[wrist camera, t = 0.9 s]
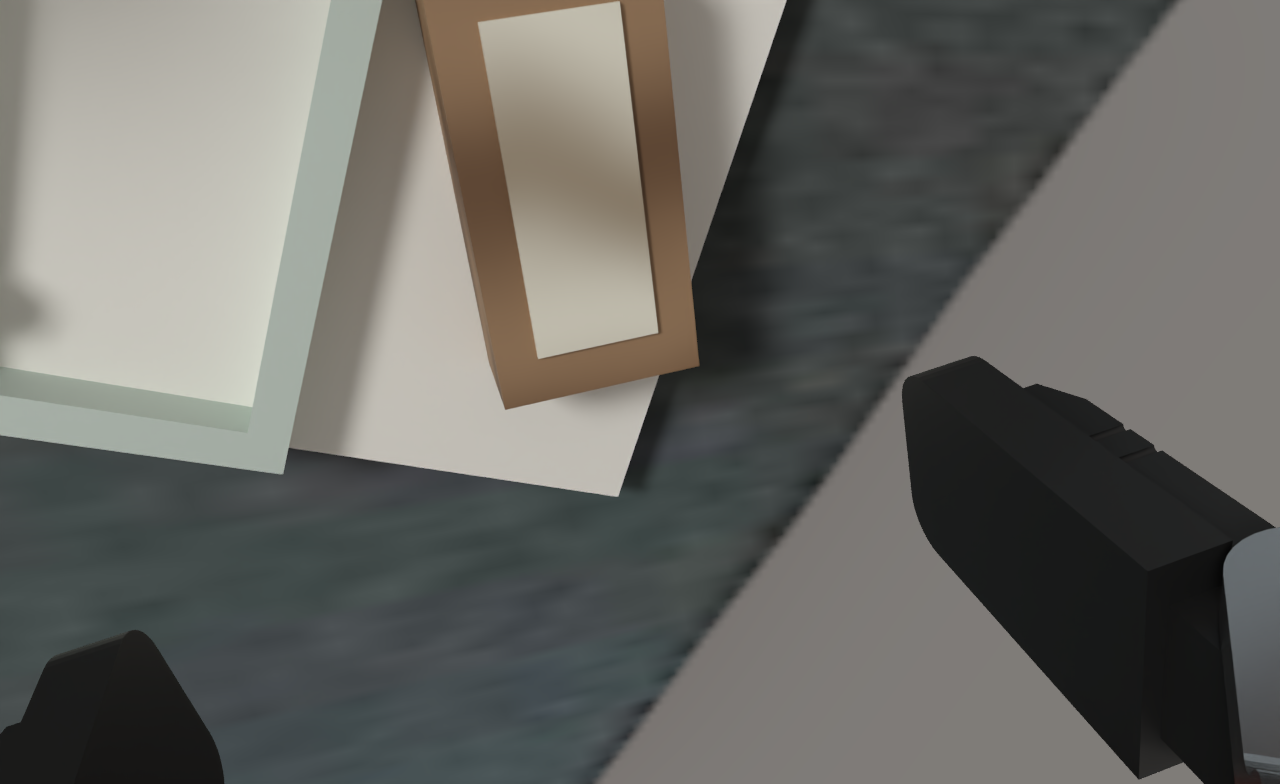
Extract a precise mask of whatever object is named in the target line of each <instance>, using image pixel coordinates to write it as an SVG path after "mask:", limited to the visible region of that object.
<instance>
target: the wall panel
mask: <svg viewBox="0 0 1280 784" xmlns="http://www.w3.org/2000/svg"><path fill="white" fill-rule="evenodd" d="M786 1H787V0H664V8H665V18H666V29H667V39H668V49H669V59H670V70H671V80H672V90H673V100H674V111H675V121H676V131H677V141H678V152H679V162H680V172H681V182H682V193H683V203H684V213H685V223H686V234H687V244H688V254H689V264H690V275H691V280H692V277H693V274H694V271H695V268H696V266H697V263H698V260H699V257H700V254H701V251H702V248H703V245H704V242H705V239H706V236H707V233H708V230H709V227H710V224H711V221H712V218H713V216H714V213H715V210H716V207H717V204H718V201H719V198H720V195H721V192H722V189H723V186H724V183H725V180H726V177H727V174H728V171H729V168H730V166H731V163H732V160H733V157H734V154H735V151H736V148H737V145H738V142H739V139H740V136H741V133H742V130H743V127H744V124H745V121H746V118H747V115H748V113H749V110H750V107H751V104H752V101H753V98H754V95H755V92H756V89H757V86H758V83H759V80H760V77H761V74H762V71H763V68H764V65H765V63H766V60H767V57H768V54H769V51H770V48H771V45H772V42H773V39H774V36H775V33H776V30H777V27H778V24H779V21H780V18H781V15H782V12H783V10H784V7H785V4H786ZM658 377H659V375H657V376H653V377H648V378H644V379H640V380H635V381H631V382H626V383H622V384H618V385H613V386H609V387H604V388H600V389H596V390H591V391H587V392H582V393H578V394H573V395H569V396H565V397H560V398H556V399H551V400H547V401H543V402H538V403H534V404H529V405H525V406H520V407H516V408H512V409H507V410H505V408H504V405H503V402H502V399H501V396H500V393H499V391H498V388H497V385H496V382H495V379H494V376H493V373H492V370H491V368H490V365H489V361H488V356H487V351H486V346H485V341H484V336H483V331H482V326H481V321H480V317H479V312H478V307H477V302H476V297H475V292H474V287H473V282H472V277H471V272H470V268H469V263H468V258H467V253H466V248H465V243H464V238H463V233H462V228H461V223H460V219H459V214H458V209H457V204H456V199H455V194H454V189H453V184H452V179H451V174H450V170H449V165H448V160H447V155H446V150H445V145H444V140H443V135H442V130H441V125H440V120H439V116H438V111H437V106H436V101H435V96H434V91H433V86H432V81H431V76H430V71H429V67H428V62H427V57H426V52H425V47H424V42H423V37H422V32H421V27H420V22H419V18H418V13H417V8H416V3H415V0H0V435H3V436H10V437H17V438H24V439H32V440H39V441H46V442H53V443H60V444H67V445H75V446H82V447H89V448H96V449H103V450H111V451H118V452H125V453H132V454H139V455H146V456H154V457H161V458H168V459H175V460H182V461H190V462H197V463H204V464H211V465H218V466H225V467H233V468H240V469H247V470H254V471H261V472H269V473H276V474H283V472H284V467H285V462H286V458H287V453H288V448H294V449H300V450H307V451H314V452H321V453H327V454H334V455H341V456H347V457H354V458H361V459H368V460H374V461H381V462H388V463H394V464H401V465H408V466H415V467H421V468H428V469H435V470H441V471H448V472H455V473H462V474H468V475H475V476H482V477H488V478H495V479H502V480H509V481H515V482H522V483H529V484H535V485H542V486H549V487H556V488H562V489H569V490H576V491H582V492H589V493H596V494H602V495H609V496H616V497H618V495H619V492H620V489H621V486H622V483H623V480H624V477H625V474H626V472H627V469H628V466H629V463H630V460H631V457H632V454H633V451H634V448H635V445H636V442H637V439H638V436H639V433H640V430H641V427H642V424H643V422H644V419H645V416H646V413H647V410H648V407H649V404H650V401H651V398H652V395H653V392H654V389H655V386H656V383H657V380H658Z"/></svg>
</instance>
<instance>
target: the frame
mask: <svg viewBox="0 0 1280 784" xmlns="http://www.w3.org/2000/svg"><path fill="white" fill-rule="evenodd" d="M415 3H416V8H417V13H418V18H419V22H420V27H421V32H422V37H423V42H424V47H425V52H426V57H427V62H428V67H429V71H430V76H431V81H432V86H433V91H434V96H435V101H436V106H437V111H438V116H439V120H440V125H441V130H442V135H443V140H444V145H445V150H446V155H447V160H448V165H449V170H450V174H451V179H452V184H453V189H454V194H455V199H456V204H457V209H458V214H459V219H460V223H461V228H462V233H463V238H464V243H465V248H466V253H467V258H468V263H469V268H470V272H471V277H472V282H473V287H474V292H475V297H476V302H477V307H478V312H479V317H480V321H481V326H482V331H483V336H484V341H485V346H486V351H487V356H488V361H489V365H490V368H491V370H492V373H493V376H494V379H495V382H496V385H497V388H498V391H499V393H500V396H501V399H502V402H503V405H504V408H505V410H507V409H512V408H516V407H520V406H525V405H529V404H534V403H538V402H543V401H547V400H551V399H556V398H560V397H565V396H569V395H573V394H578V393H582V392H587V391H591V390H596V389H600V388H604V387H609V386H613V385H618V384H622V383H626V382H631V381H635V380H640V379H644V378H648V377H653V376H657V375H662V374H666V373H671V372H675V371H679V370H684V369H688V368H693V367H697V366H699V357H698V347H697V336H696V326H695V316H694V305H693V295H692V285H691V275H690V264H689V254H688V244H687V234H686V223H685V213H684V203H683V193H682V182H681V172H680V162H679V152H678V141H677V131H676V121H675V111H674V100H673V90H672V80H671V70H670V59H669V49H668V39H667V29H666V18H665V8H664V0H415Z"/></svg>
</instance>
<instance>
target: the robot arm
mask: <svg viewBox="0 0 1280 784" xmlns="http://www.w3.org/2000/svg"><path fill="white" fill-rule="evenodd" d="M902 403H903V412H904V421H905V432H906V441H907V451H908V461H909V471H910V480H911V490H912V498H913V503H914V507H915V511H916V514H917V517H918V520H919V522H920V525H921V527H922V529H923V531H924V533H925V535H926V537H927V539H928V541H929V542H930V544H931V545H932V547H933V548H934V549H935V551H936V552H937V553H938V554H939V556H940V557H941V558H942V559H943V560H944V561H945V562H946V563H947V564H948V566H949V567H950V568H951V569H952V570H953V571H954V572H955V574H956V575H957V576H958V577H959V578H960V579H961V580H962V581H963V583H964V584H965V585H966V586H967V587H968V588H969V589H970V590H971V592H972V593H973V594H974V595H975V596H976V597H977V598H978V599H979V600H980V602H982V604H983V605H984V606H985V607H986V608H987V610H988V611H989V612H990V613H991V614H992V615H993V616H994V617H995V619H996V620H997V621H998V622H999V623H1000V624H1001V625H1002V626H1003V628H1004V629H1005V630H1006V631H1007V632H1008V633H1009V634H1010V635H1011V637H1012V638H1013V639H1014V640H1015V641H1016V642H1017V643H1018V644H1019V645H1020V647H1021V648H1022V649H1023V650H1024V651H1025V652H1026V653H1027V654H1028V656H1029V657H1030V658H1031V659H1032V660H1033V661H1034V662H1035V663H1036V665H1037V666H1038V667H1039V668H1040V669H1041V670H1042V671H1043V672H1044V673H1045V675H1046V676H1047V677H1048V678H1049V679H1050V680H1051V681H1052V683H1053V684H1054V685H1055V686H1056V687H1057V688H1058V689H1059V690H1060V691H1061V692H1062V694H1063V695H1064V696H1065V697H1066V698H1067V699H1068V701H1069V702H1070V703H1071V704H1072V705H1073V706H1074V707H1075V708H1076V710H1077V711H1078V712H1079V713H1080V714H1081V715H1082V716H1083V717H1084V719H1085V720H1086V721H1087V722H1088V723H1089V724H1090V725H1091V726H1092V727H1093V729H1094V730H1095V731H1096V732H1097V733H1098V734H1099V735H1100V737H1101V738H1102V739H1103V740H1104V741H1105V742H1106V743H1107V744H1108V745H1109V747H1110V748H1111V749H1112V750H1113V751H1114V752H1115V753H1116V755H1117V756H1118V757H1119V758H1120V759H1121V760H1122V761H1123V762H1124V764H1125V765H1126V766H1127V767H1128V768H1129V769H1130V770H1131V771H1132V773H1133V774H1134V775H1135V776H1136V777H1137V778H1138V779H1142V778H1144V777H1147V776H1149V775H1152V774H1154V773H1157V772H1160V771H1162V770H1164V769H1167V768H1170V767H1172V766H1175V765H1177V764H1180V763H1182V762H1184V763H1185V764H1186V765H1187V766H1188V767H1189V768H1190V769H1191V770H1192V771H1193V773H1194V774H1195V775H1196V776H1197V777H1198V778H1199V779H1200V780H1201V781H1202V782H1203V783H1204V784H1280V527H1277V528H1276V527H1274V526H1272V525H1271V524H1270V523H1268V522H1267V521H1265V520H1264V519H1262V518H1261V517H1259V516H1258V515H1257V514H1255V513H1254V512H1252V511H1250V510H1249V509H1248V508H1246V507H1245V506H1243V505H1241V504H1240V503H1239V502H1237V501H1236V500H1234V499H1233V498H1231V497H1230V496H1228V495H1227V494H1225V493H1224V492H1222V491H1221V490H1220V489H1218V488H1217V487H1215V486H1214V485H1212V484H1211V483H1209V482H1208V481H1206V480H1205V479H1203V478H1202V477H1200V476H1199V475H1197V474H1196V473H1194V472H1193V471H1191V470H1190V469H1189V468H1187V467H1186V466H1184V465H1183V464H1181V463H1180V462H1178V461H1176V460H1175V459H1174V458H1172V457H1171V456H1169V455H1168V454H1166V453H1165V452H1163V451H1159V452H1157V451H1156V450H1155V448H1154V445H1153V444H1152V443H1150V442H1149V441H1147V440H1146V439H1144V438H1143V437H1141V436H1140V435H1138V434H1137V433H1135V432H1134V431H1132V430H1131V429H1130V430H1127V431H1126V430H1125V429H1124V427H1123V424H1122V423H1121V422H1119V421H1117V420H1116V419H1115V418H1113V417H1111V416H1110V415H1109V414H1107V413H1106V412H1104V411H1103V410H1101V409H1100V408H1098V407H1097V406H1095V405H1094V404H1092V403H1091V402H1090V401H1088V400H1086V399H1084V398H1080V397H1077V396H1074V395H1071V394H1068V393H1065V392H1061V391H1058V390H1055V389H1052V388H1049V387H1045V386H1042V385H1039V384H1035V385H1032V386H1029V387H1026V388H1022V387H1021V386H1019V385H1018V384H1017V383H1015V382H1014V381H1012V380H1011V379H1010V378H1008V377H1007V376H1006V375H1004V374H1003V373H1001V372H1000V371H999V370H997V369H996V368H995V367H993V366H992V365H990V364H989V363H988V362H986V361H985V360H983V359H981V358H980V357H977V356H971V357H968V358H965V359H962V360H959V361H955V362H953V363H949V364H946V365H943V366H941V367H937V368H934V369H931V370H928V371H925V372H922V373H919V374H916V375H913V376H910V377H908V378H907V379H906V380H905V382H904V384H903V389H902ZM0 784H224V775H223V769H222V764H221V760H220V756H219V753H218V750H217V747H216V745H215V742H214V740H213V738H212V736H211V734H210V732H209V731H208V729H207V728H206V726H205V724H204V723H203V721H202V720H201V718H200V716H199V715H198V713H197V712H196V710H195V708H194V707H193V705H192V703H191V702H190V700H189V699H188V697H187V695H186V694H185V692H184V691H183V689H182V687H181V686H180V684H179V682H178V681H177V679H176V678H175V676H174V674H173V673H172V671H171V670H170V668H169V666H168V665H167V663H166V661H165V660H164V658H163V657H162V655H161V653H160V652H159V650H158V649H157V647H156V646H155V644H154V643H153V641H152V640H151V639H150V638H149V637H148V636H147V635H146V634H145V633H143V632H141V631H139V630H132V631H128V632H125V633H122V634H119V635H116V636H113V637H110V638H107V639H104V640H101V641H98V642H95V643H92V644H89V645H86V646H83V647H80V648H77V649H74V650H71V651H68V652H65V653H62V654H58V655H56V656H54V657H52V658H51V659H50V660H49V661H48V662H47V664H46V666H45V668H44V670H43V672H42V674H41V677H40V679H39V681H38V684H37V686H36V688H35V691H34V693H33V695H32V698H31V700H30V702H29V705H28V707H27V709H26V712H25V714H24V716H23V719H22V721H21V722H20V723H17V724H14V725H11V726H8V727H6V728H5V729H4V731H3V732H2V733H1V734H0Z"/></svg>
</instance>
